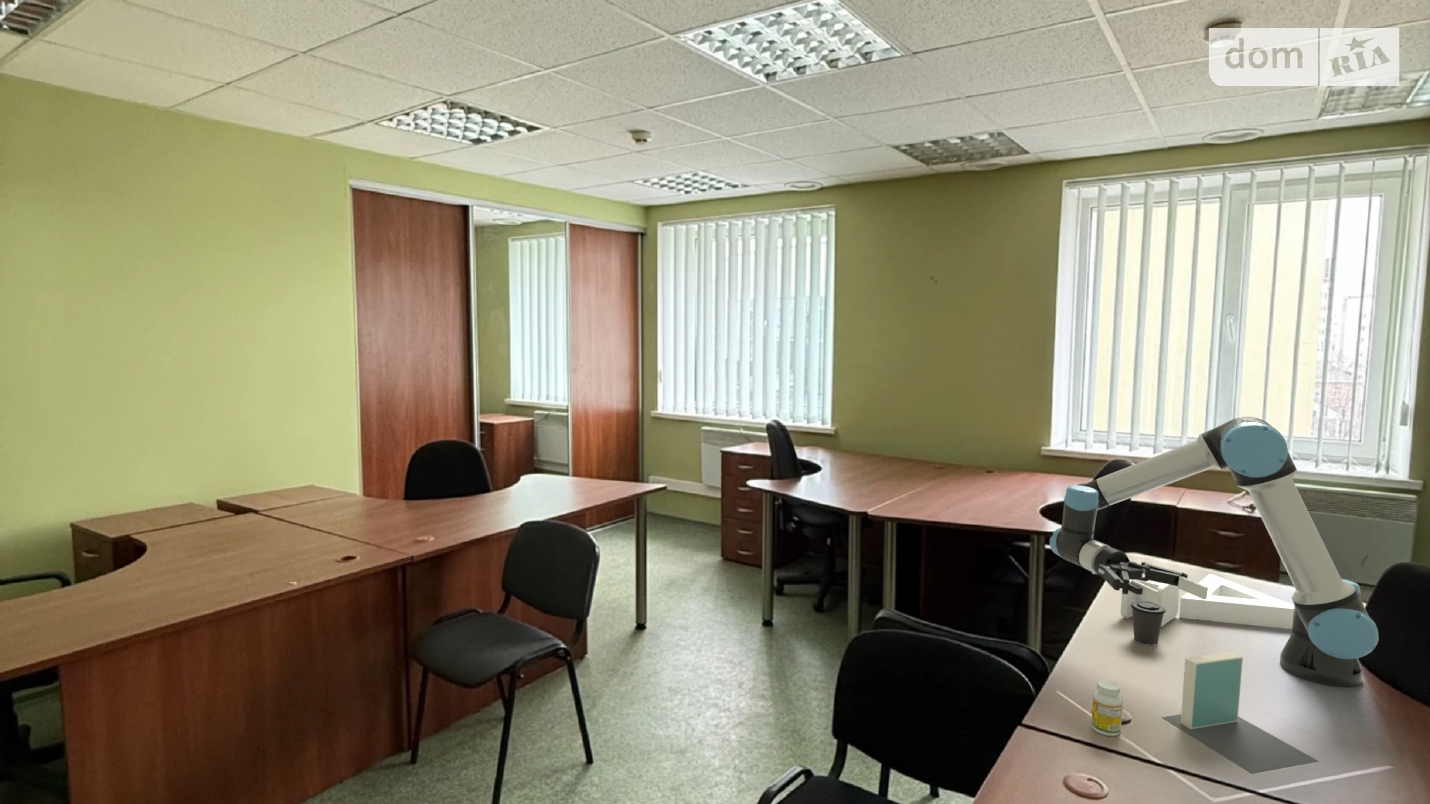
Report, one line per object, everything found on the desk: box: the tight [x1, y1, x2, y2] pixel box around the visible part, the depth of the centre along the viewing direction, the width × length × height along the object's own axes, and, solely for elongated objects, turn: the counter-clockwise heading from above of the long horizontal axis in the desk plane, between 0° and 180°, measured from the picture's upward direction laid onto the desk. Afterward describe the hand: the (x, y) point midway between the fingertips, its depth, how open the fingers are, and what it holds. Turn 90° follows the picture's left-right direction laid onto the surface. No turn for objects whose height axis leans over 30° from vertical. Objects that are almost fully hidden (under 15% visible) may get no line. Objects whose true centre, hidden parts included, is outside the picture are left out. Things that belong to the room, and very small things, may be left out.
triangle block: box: [1178, 573, 1294, 630], centre depth 217 cm, size 30×26×6 cm
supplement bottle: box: [1091, 679, 1124, 737], centre depth 151 cm, size 5×5×10 cm
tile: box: [1180, 651, 1244, 729], centre depth 152 cm, size 2×12×14 cm, turn 104°
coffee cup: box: [1130, 601, 1166, 646], centre depth 193 cm, size 8×8×10 cm
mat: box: [1161, 713, 1319, 775], centre depth 147 cm, size 20×16×1 cm
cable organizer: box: [1120, 574, 1181, 628], centre depth 208 cm, size 15×11×12 cm
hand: (1181, 595), depth 160 cm, fingers open, 13 cm apart
